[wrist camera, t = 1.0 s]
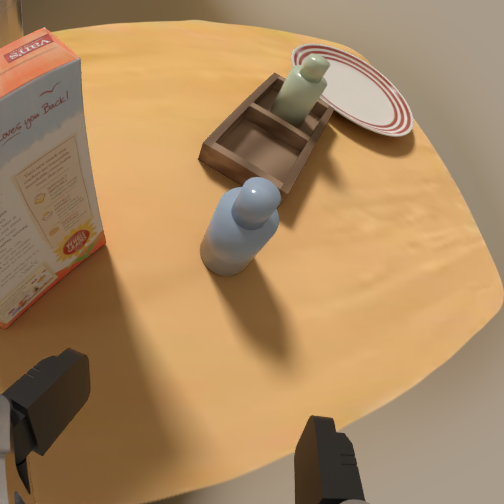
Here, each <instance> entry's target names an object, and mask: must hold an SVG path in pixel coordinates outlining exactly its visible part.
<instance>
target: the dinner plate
mask: <svg viewBox="0 0 504 504" xmlns="http://www.w3.org/2000/svg"><path fill="white" fill-rule="evenodd" d="M311 53H313V54H318V55H320V56H322V57H324V58H325V59H326V60H327V61H328V62H329V63H330V67H329V68H328V70H327V71H326V73H325V75H324V76H323V77H324V78H325V80H326V81H327V87H326V88H325V90H324V91H323V93H322V95H321V96H320V98H319V99H320V100H322V101H323V102H325V103H326V104H328V105H329V106H331V107H332V108H334V110H335V111H336V112H337V113H339V114H340V115H342V116H343V117H345V118H347V119H348V120H350V121H352V122H354V123H355V124H357V125H359V126H361V127H363V128H365V129H368V130H370V131H373V132H375V133H378V134H382V135H385V136H391V137H401V136H405V135H407V134H409V133H410V131H411V130H412V128H413V123H414V121H413V115H412V112H411V110H410V108H409V105H408V104H407V102H406V100H405V99H404V97H403V96H402V95H401V93H400V92H399V91H398V90H397V89H396V87H395V86H394V85H393V84H392V83H391V82H390V81H389V80H388V79H387V78H386V77H385V76H384V75H382V74H381V73H380V72H379V71H378V70H376V69H375V68H374V67H372V66H371V65H369V64H368V63H366V62H365V61H363V60H361V59H360V58H358V57H356V56H354V55H352V54H350V53H348V52H345V51H343V50H340V49H338V48H335V47H331V46H328V45H322V44H303V45H300V46H298V47H296V48H295V49H294V50H293V52H292V54H291V62H292V66H295V65H304V63H305V61H306V59H307V58H308V56H309V54H311Z"/></svg>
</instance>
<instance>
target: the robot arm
mask: <svg viewBox="0 0 504 504" xmlns="http://www.w3.org/2000/svg"><path fill="white" fill-rule="evenodd" d="M22 37H24V36H23V26H22V12H21V0H0V48H2V47H4V46H6V45H8V44H9V43H11V42H14V41H16V40H18V39H20V38H22ZM89 394H90V375H89V360H88V357H87V355H85V354H82V353H80V352H77V351H75V350H73V349H70V348H68V349H66V350H65V351H64V352H62V353H61V354H60V355H59V356H58V357H56V356H51V357H49V358H46V359H43V360H42V361H40V362H39V363H38V364H37V365H36V366H34V368H32V369H31V370H30V371H28V372H27V374H25V375H24V376H22V377H21V378H20V379H19V380H18V381H17V382H15V383H14V384H13V385H12V386H11V387H10V388H8V389H7V390H6V391H5V392H4V393H3V394H0V504H36V502H35V497H34V492H33V485H32V478H31V471H30V462H29V457H28V454H29V453H30V452H31V451H32V450H33V451H35V452H36V453H38V454H40V455H41V456H43V455H44V454H45V452H46V451H47V450H48V449H49V447H50V446H51V445H52V444H53V442H54V441H55V440H56V439H57V437H58V436H59V435H60V434H61V432H62V431H63V430H64V429H65V427H66V426H67V425H68V424H69V422H70V421H71V420H72V419H73V418H74V416H75V415H76V414H77V413H78V411H79V410H80V409H81V408H82V407H83V405H84V404H85V403H86V401H87V400H88V397H89ZM294 470H295V504H369V503H367V502H366V501H365V498H364V494H363V489H362V484H361V480H360V475H359V471H358V467H357V462H356V458H355V453H354V449H353V445H352V443H351V442H350V440H349V439H348V437H347V436H346V435H345V434H344V433H336V429H335V424H334V420H333V418H329V417H321V416H313V415H312V416H310V418H309V419H308V422H307V424H306V426H305V428H304V431H303V433H302V435H301V437H300V439H299V442H298V444H297V446H296V450H295V456H294Z"/></svg>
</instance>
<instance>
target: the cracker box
mask: <svg viewBox="0 0 504 504" xmlns="http://www.w3.org/2000/svg"><path fill="white" fill-rule="evenodd" d="M104 244H106V239H105V235H104V231H103V226H102V221H101V217H100V212H99V207H98V202H97V196H96V191H95V186H94V180H93V174H92V168H91V162H90V155H89V148H88V141H87V133H86V125H85V117H84V108H83V96H82V80H81V58H80V57H78V56H77V55H76V54H75V53H74V52H73V51H72V50H70V49H69V48H68V47H67V46H66V45H65V44H64V43H62V42H61V41H60V40H59V39H58V38H57V37H55V36H54V35H53V34H52V33H51V32H50V31H48V30H47V29H46V28H42V29H39V30H37V31H35V32H33V33H30V34H28V35H26V36H24V37H22V38H20V39H18V40H16V41H14V42H11V43H9V44H8V45H6V46H4V47H2V48H0V328H2V329H6V328H7V327H8V326H9V325H10V324H11V323H12V322H14V321H15V320H16V319H17V318H18V317H19V316H20V315H21V314H22V313H23V312H25V311H26V310H27V309H28V308H29V307H30V306H31V305H32V304H33V303H34V302H36V301H37V300H38V299H39V298H40V297H41V296H42V295H43V294H45V293H46V292H47V291H48V290H49V289H50V288H51V287H53V286H54V285H55V284H56V283H57V282H59V281H60V280H61V279H62V278H63V277H65V276H66V275H67V274H68V273H69V272H71V271H72V270H73V269H74V268H75V267H77V266H78V265H79V264H80V263H82V262H83V261H84V260H85V259H87V258H88V257H89V256H90V255H92V254H93V253H94V252H95V251H97V250H98V249H99V248H101V247H102V246H103V245H104Z"/></svg>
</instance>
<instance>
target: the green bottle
mask: <svg viewBox="0 0 504 504" xmlns="http://www.w3.org/2000/svg"><path fill="white" fill-rule="evenodd" d="M329 67H330V63H329V62H328V61H327V60H326V59H325V58H324V57H322V56H320V55H318V54H313V53H311V54H309V56H308V58H307V59H306V61H305V63H304V65H295V66H293V67H292V69H291V71H290V73H289V75H288V76H287V78H286V80H285V82H284V84H283V86H282V88H281V90H280V91H279V93H278V95H277V97H276V99H275V101H274V103H273V105H272V107H271V109H270V112H271V113H272V114H274V115H276V116H277V117H279V118H281V119H282V120H284V121H286V122H287V123H289V124H291V125H292V126H294V127H296V128H299V127H300V126H301V125H302V124H303V122H304V121H305V119H306V118H307V116H308V114H309V113H310V111H311V110H312V108H313V107H314V105H315V104H316V102H317V101H318V99H319V98H320V96H321V95H322V93H323V91H324V90H325V88H326V87H327V81H326V80H325V78H324V77H323V76H324V75H325V73H326V71H327V70H328V68H329Z"/></svg>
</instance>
